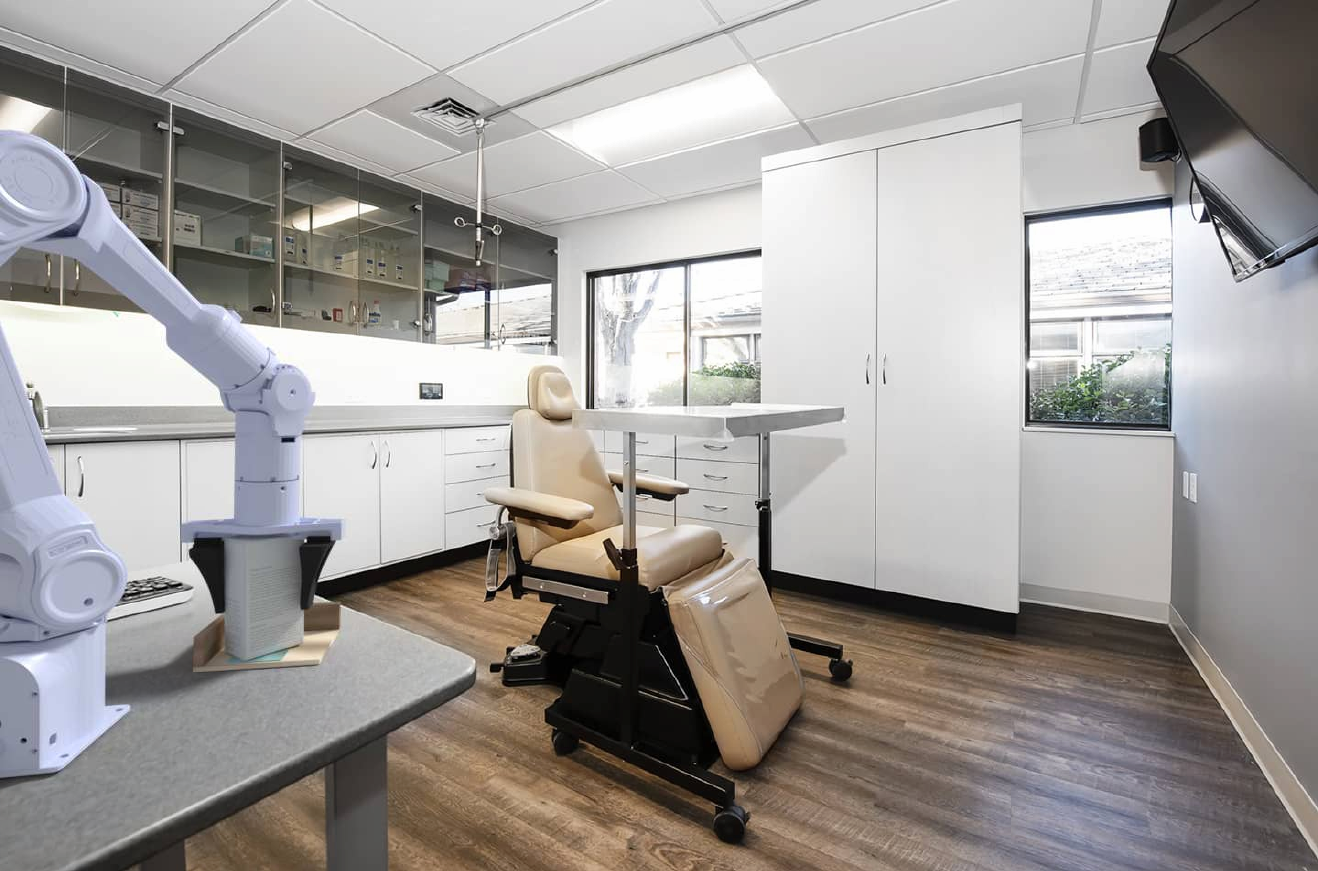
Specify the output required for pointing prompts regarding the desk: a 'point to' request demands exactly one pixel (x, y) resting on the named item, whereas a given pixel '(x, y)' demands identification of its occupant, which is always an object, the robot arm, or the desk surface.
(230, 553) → the skincare box
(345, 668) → the desk surface
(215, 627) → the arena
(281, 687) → the desk surface
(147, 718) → the desk surface
